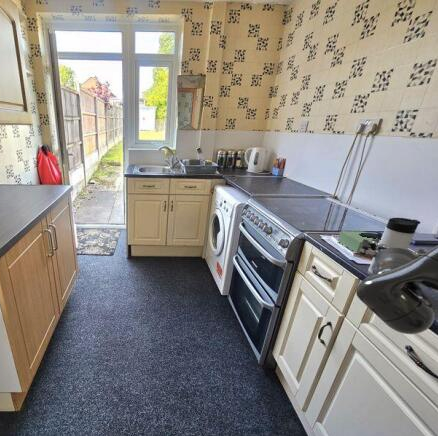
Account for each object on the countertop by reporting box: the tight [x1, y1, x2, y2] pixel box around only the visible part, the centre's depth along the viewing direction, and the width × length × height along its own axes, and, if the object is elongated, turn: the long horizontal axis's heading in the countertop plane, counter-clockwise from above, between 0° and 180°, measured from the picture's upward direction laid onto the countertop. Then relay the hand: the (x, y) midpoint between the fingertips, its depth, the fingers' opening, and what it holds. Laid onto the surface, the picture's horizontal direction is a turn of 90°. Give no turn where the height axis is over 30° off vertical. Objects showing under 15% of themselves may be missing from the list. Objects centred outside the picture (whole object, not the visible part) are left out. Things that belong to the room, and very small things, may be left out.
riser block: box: [337, 230, 380, 253], centre depth 97 cm, size 10×10×5 cm
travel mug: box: [367, 217, 421, 277], centre depth 76 cm, size 6×7×20 cm
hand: (397, 246), depth 67 cm, fingers open, 8 cm apart
